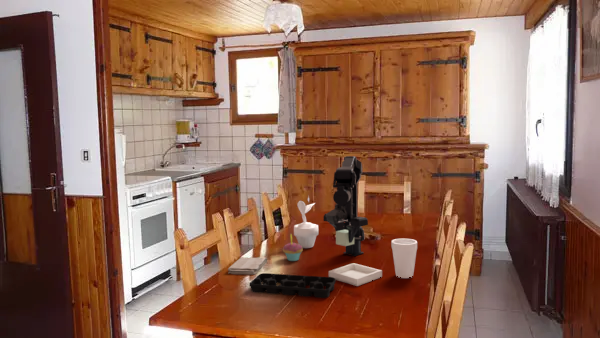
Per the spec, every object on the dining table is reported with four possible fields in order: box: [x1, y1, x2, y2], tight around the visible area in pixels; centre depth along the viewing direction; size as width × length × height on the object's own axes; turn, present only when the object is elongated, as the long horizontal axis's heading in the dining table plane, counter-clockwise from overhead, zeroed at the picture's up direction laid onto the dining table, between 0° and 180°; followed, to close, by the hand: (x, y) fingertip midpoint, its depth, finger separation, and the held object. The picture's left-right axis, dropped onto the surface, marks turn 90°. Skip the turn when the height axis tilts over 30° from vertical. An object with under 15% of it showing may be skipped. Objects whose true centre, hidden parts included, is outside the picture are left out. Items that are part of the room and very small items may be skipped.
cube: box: [335, 230, 354, 247], centre depth 193 cm, size 5×5×5 cm
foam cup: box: [390, 237, 418, 279], centre depth 186 cm, size 10×9×13 cm
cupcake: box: [282, 233, 304, 262], centre depth 212 cm, size 9×8×12 cm
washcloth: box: [227, 256, 268, 276], centre depth 202 cm, size 12×18×3 cm, turn 170°
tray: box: [328, 262, 383, 287], centre depth 186 cm, size 14×14×2 cm
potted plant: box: [293, 194, 319, 249], centre depth 232 cm, size 13×12×25 cm
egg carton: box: [249, 272, 337, 299], centre depth 175 cm, size 18×30×4 cm, turn 86°
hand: (345, 241), depth 193 cm, fingers closed on cube, 5 cm apart
